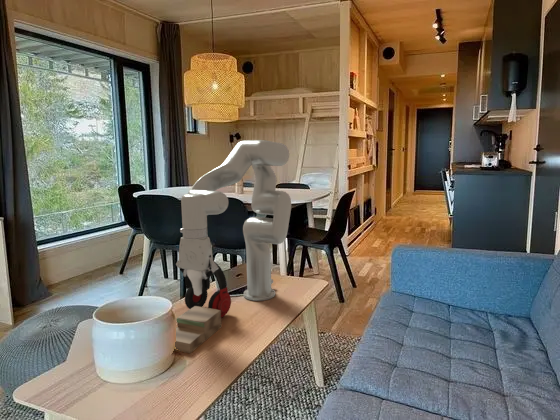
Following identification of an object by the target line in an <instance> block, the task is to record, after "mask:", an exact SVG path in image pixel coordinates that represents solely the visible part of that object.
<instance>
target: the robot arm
mask: <svg viewBox="0 0 560 420" xmlns="http://www.w3.org/2000/svg"><path fill="white" fill-rule="evenodd" d="M289 158H290V150H289V148H288V147H287V145H286V144H285V143H282V142H276V141H272V140H268V139H267V140H266V139H265V140H263V139H246V140H245V139H244V140H241V141H238V142H237V143H236V145H235V146H234V147H233V149H232V150H231V151H230V153H229V154H228V156H227V157H226V158H225V159H224V161H223V162H222V163H221V164H220V165H219V166H217V167H215V168H213V169H212V170H211V171H209V172H207V173H205V174H204V175H202V176H201V177H200V178H198V179H197V180H196V181H195V183H194V184H193V185H192V186H191V188H190V189H189V190H188V193H186V194H183V195H181V198H180V200H181V201H180V203H181V204H180V205H181V223H182V226H181V227H182V228H180V229H179V232H180V233H182V237H180V241H179V248H178V260H177V261H176V263H175V265H176V267H177V268H178V269H179V271H180V272H181V273H182V276H183V277H184V281H185V282H184V283H185V284H184V285H185V289H186V290H188V289H189V288H190V287H192V283H191V280H190V279H189V277H188V276H187V270H196V271H201V272H202V275H203V278H204V279H202V290H203V291H206V290H207V291H208V290H209V289H210V287H211V277H212V275H214V274H213V273H214V272H215V271H216V270H218V266H217V265H216V264H215V260H214V257H213V248H212V243H211V239H210V237H209V236H208V216H209V215H210V216H211V215H219V214H222V213H224V212H225V211H226V210H227V209H228V207H229V197H228V196H227V195H226V194H225V193H224V192H222V191H217V190H219V189H222V188H225V187H226V188H227V187H229V186H233V185H235V184H237V183H239V182H241V180H242V179H243V178H244V176H245V174H247V172H248V170H249V168H252V170H253V172H254V185H253V191H252V197H251V209H252V211H253V212H254V213H256V214H260V215H269V216H272V217H273V218H271V217H270V218H269V217H262V216H253V217H252V216H251V217H248V218H247V219H245V220H244V223H243V225H242V234H243V239H244V242H245V251H246V252H245V254H246V255H245V256H246V287H247V289H245V290H244V291H243V297H244V298H245V299H246V300H249V301H257V302H259V301H266V300H271V299H273V298H274V297H275V296H276V290H274V289H273V288H272V284H273V283H274V279H272V261H271V259H272V256H271V255H272V254H271V249H270V246H269V244H271V245H281V244H282V243H284V242H285V240H286V238H287V235H288V231H289V226H290V225H289V223H290V217H291V211H292V200H291V199H292V198H291V196H290V194H289V193H288V192H286V191H284V190H276V189H277V188H276V186H277V176H276V173H275V171H274V169H273V168H272V167H283V166H285V165H286V164H287V163H288V161H289ZM210 267H211V268H212V269H211V270H210V269H209V268H210Z"/></svg>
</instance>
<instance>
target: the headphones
mask: <svg viewBox="0 0 560 420" xmlns="http://www.w3.org/2000/svg"><path fill="white" fill-rule="evenodd" d="M214 262H215V261H214ZM215 264H216V265H217V266H218V270H216V271H215V272H214V273H213V274H212V275H214V277H215V279H216V281H217V286H218V288H219V289H218V290H216V291H215V292H214V293H213V294H211V296H210V298H209V301H208V302H207V299H208V290H206V291H203V290H202V294H200V295H199V296H196V295H195V294H194V291H193V287H190V288H189V289H186V292H185V294H184V304H185V306H186V308H187V309H188V310H190V309H191V308H193V307H194V306H199V307H204V305H205V304H206V302H207V303H208V304H207V305H208V307H207V308H211V309H217V310H221V319H222V318H224V317H225V316H226V315H227V314H228V312H229V311H230V309H231V306H232V298H231V294H230V293H229V292H228V286H227V285H228V284H227V283H228V282H227V278H226V275H225V272H224V271H223V269H222V268H221V266H220V265H219V264H218V263H217V262H215ZM209 269H210V270H211V269H212V268H211V267H210V268H209Z"/></svg>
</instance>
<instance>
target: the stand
mask: <svg viewBox="0 0 560 420" xmlns="http://www.w3.org/2000/svg"><path fill="white" fill-rule="evenodd" d="M176 323H177V324H176V325H177V326H176V327H175V328H176V342H175V347H176V349H178V350H180V351H179V352H182V351H183V353H187V354H191V353H193V352H194V351H195V350H196V349H197V348H198V347H200V346H201V345H202V344H203V343H205V341H207V340H208V339H210V337H212V336H213V335H214V334H216V332H218V331H219V330H220V329H221V328H222V318H221V310H217V309H211V308H208V307H204V306H202V307H199V306H194V307H193V308H191V309H188V310H186V311H185V312H183V313H182V314H181V315H179V316H178V317H177V318H176Z"/></svg>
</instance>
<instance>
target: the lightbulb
mask: <svg viewBox="0 0 560 420" xmlns="http://www.w3.org/2000/svg"><path fill="white" fill-rule="evenodd" d="M187 276H188V277H189V279H190V280H191V283H192V287H193V291H194V294H195V295H196V296H199V295H200V294H202V279H204V278H203V275H202V272H201V271H196V270H187Z"/></svg>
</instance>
